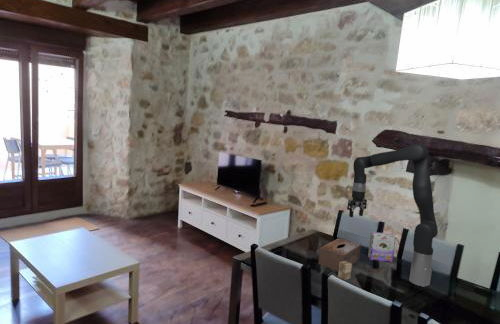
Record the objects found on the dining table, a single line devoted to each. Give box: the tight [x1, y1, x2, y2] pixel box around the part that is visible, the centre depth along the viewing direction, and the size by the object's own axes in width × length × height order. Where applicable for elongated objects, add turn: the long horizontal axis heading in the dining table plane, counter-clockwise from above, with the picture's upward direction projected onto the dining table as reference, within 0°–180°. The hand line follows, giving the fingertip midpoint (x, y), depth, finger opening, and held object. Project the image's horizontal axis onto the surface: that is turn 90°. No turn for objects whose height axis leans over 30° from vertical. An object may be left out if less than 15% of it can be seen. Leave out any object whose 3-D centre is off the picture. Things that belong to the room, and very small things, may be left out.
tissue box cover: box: [318, 237, 362, 272], centre depth 209 cm, size 26×14×10 cm, turn 142°
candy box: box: [367, 231, 397, 263], centre depth 218 cm, size 14×6×16 cm, turn 84°
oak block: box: [337, 261, 353, 281], centre depth 189 cm, size 4×4×8 cm
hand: (355, 216), depth 213 cm, fingers open, 8 cm apart
